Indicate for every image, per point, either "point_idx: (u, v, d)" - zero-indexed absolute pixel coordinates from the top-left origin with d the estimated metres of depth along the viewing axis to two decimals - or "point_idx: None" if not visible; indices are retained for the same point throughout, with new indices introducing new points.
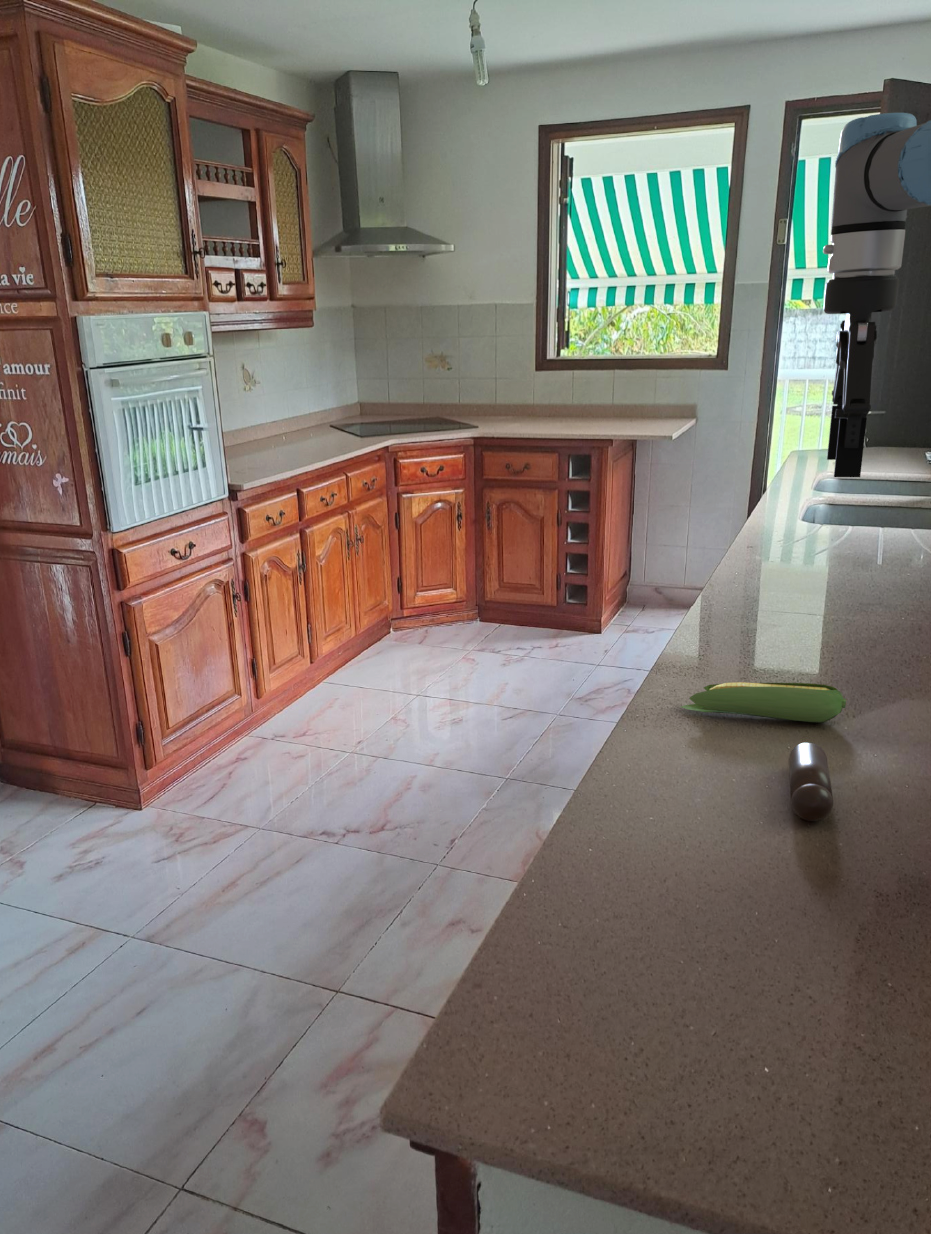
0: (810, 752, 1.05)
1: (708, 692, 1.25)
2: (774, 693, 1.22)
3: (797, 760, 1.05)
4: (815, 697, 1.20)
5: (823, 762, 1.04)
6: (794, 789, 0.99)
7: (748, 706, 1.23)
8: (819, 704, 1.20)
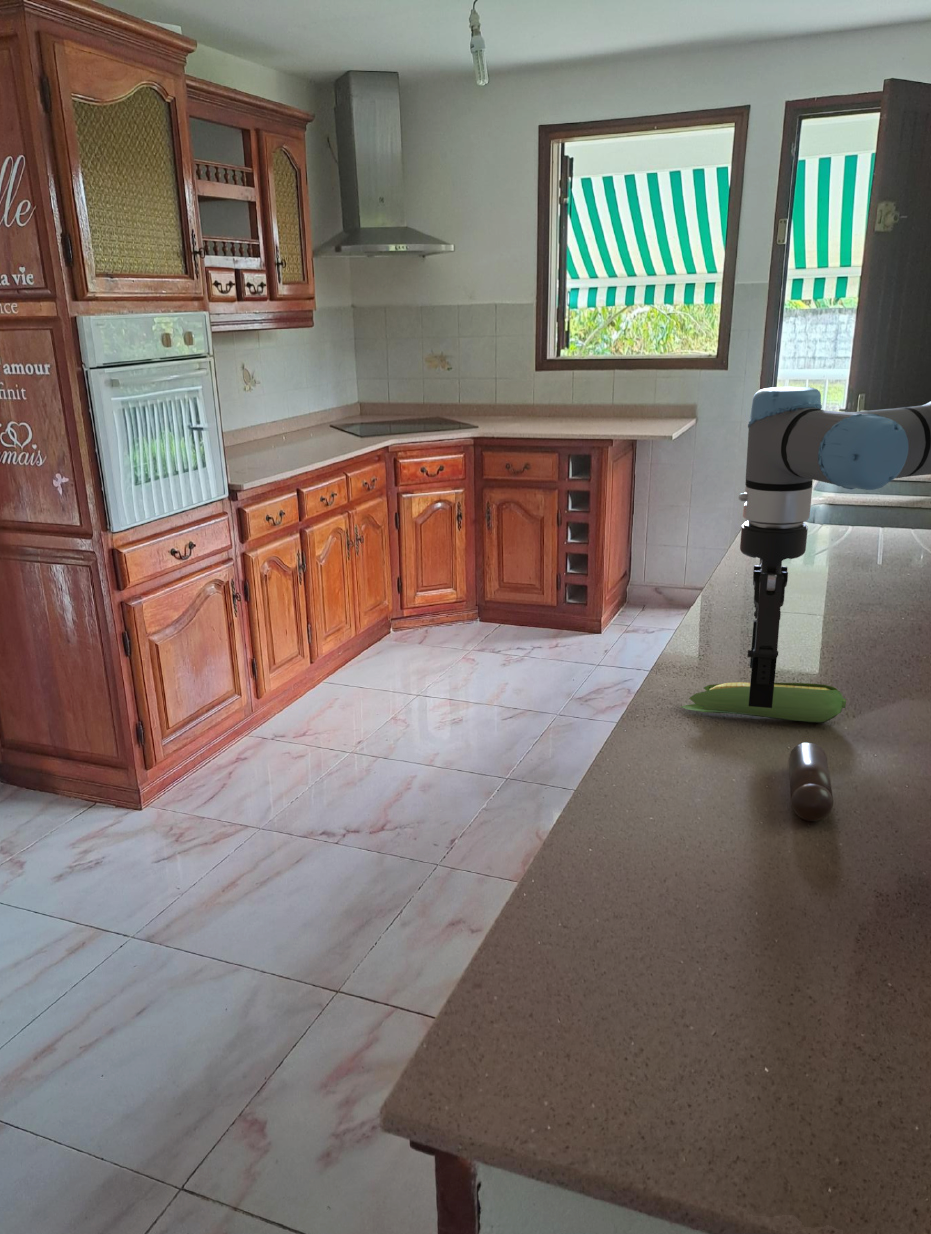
0: (810, 752, 1.05)
1: (708, 692, 1.25)
2: (774, 693, 1.22)
3: (797, 760, 1.05)
4: (815, 697, 1.20)
5: (823, 762, 1.04)
6: (794, 789, 0.99)
7: (748, 706, 1.23)
8: (819, 704, 1.20)
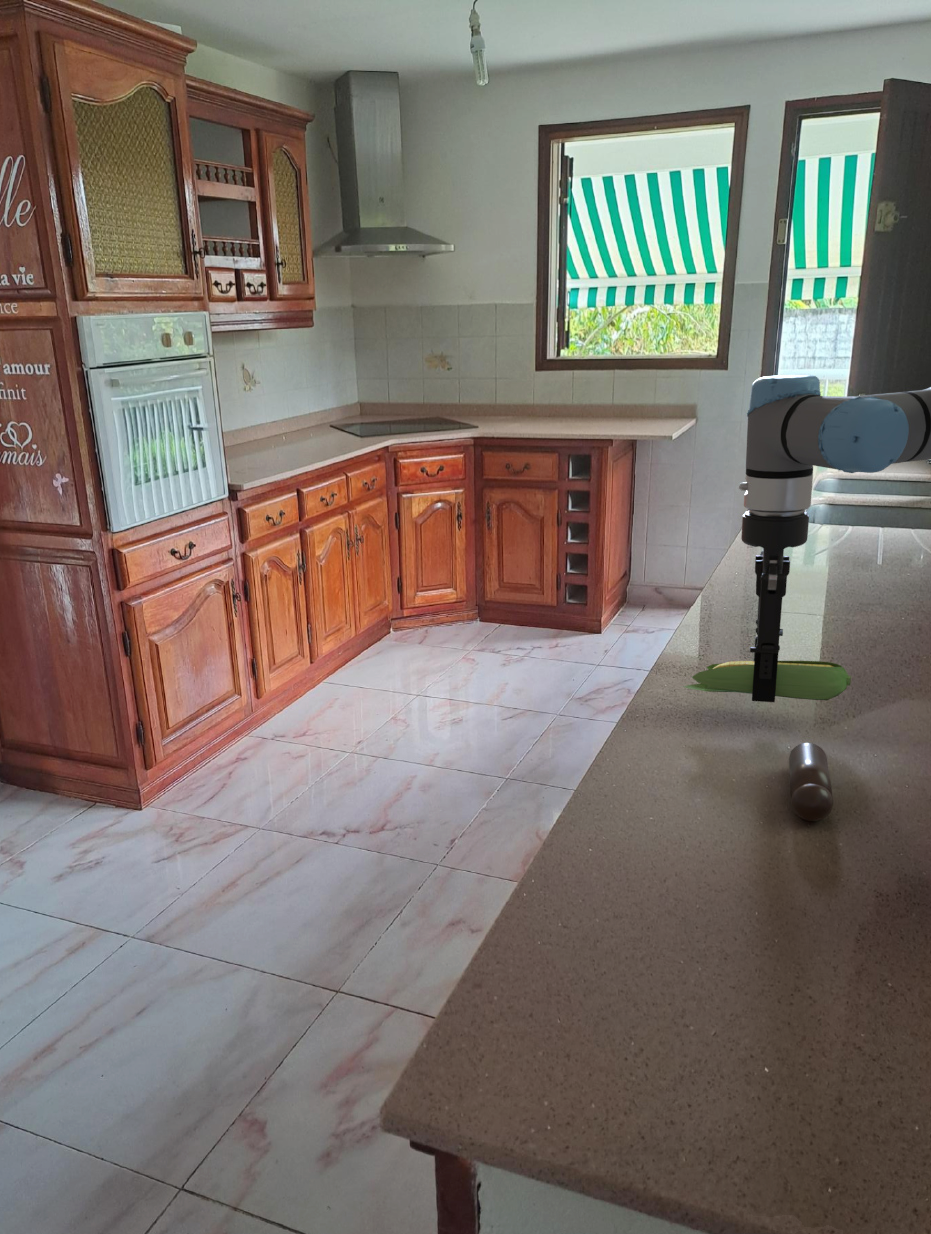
0: (810, 752, 1.05)
1: (711, 671, 1.23)
2: (778, 671, 1.21)
3: (797, 760, 1.05)
4: (819, 674, 1.19)
5: (823, 762, 1.04)
6: (794, 789, 0.99)
7: (752, 684, 1.21)
8: (823, 681, 1.18)
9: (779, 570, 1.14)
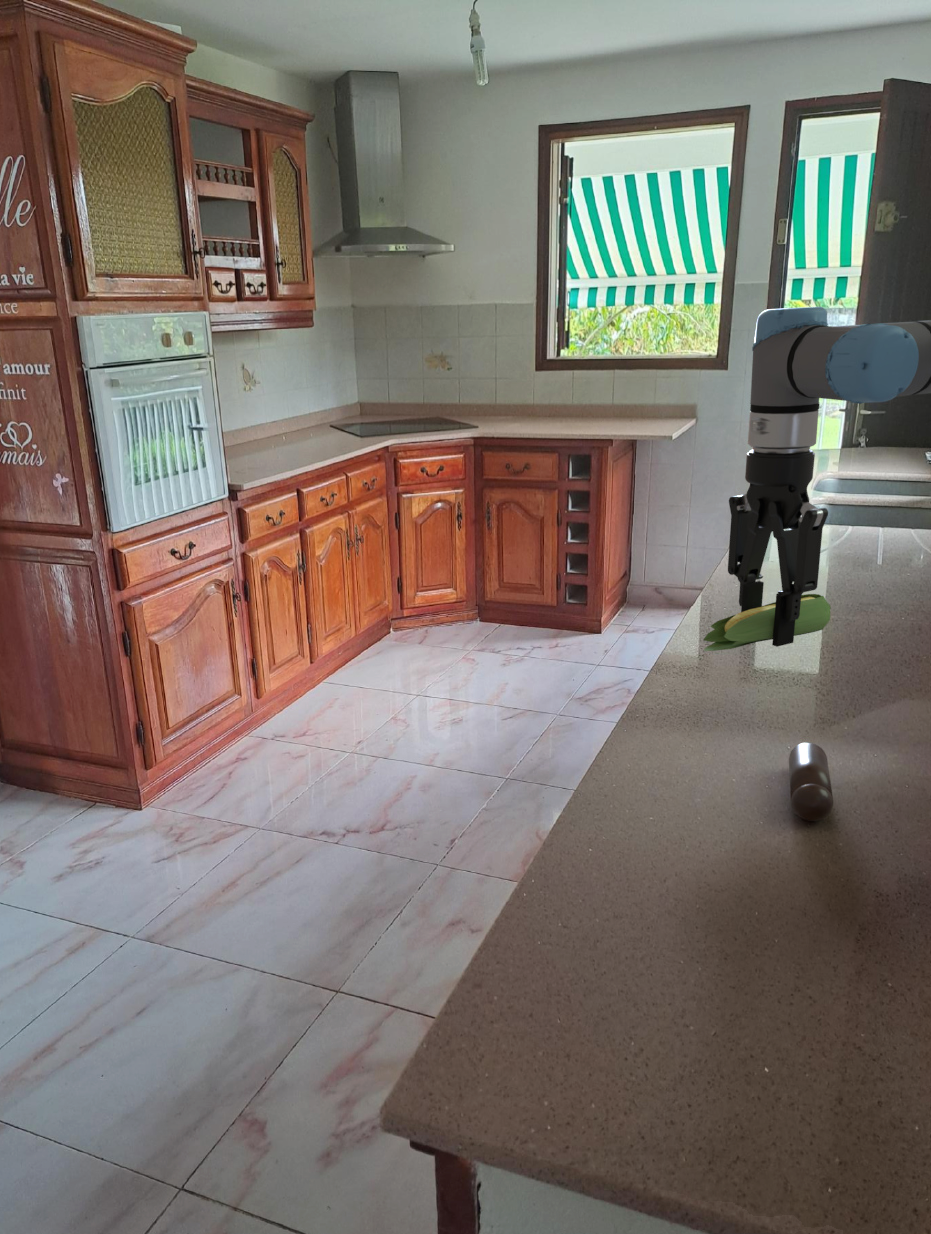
0: (810, 752, 1.05)
1: (736, 626, 1.16)
2: None
3: (797, 760, 1.05)
4: (817, 606, 1.21)
5: (823, 762, 1.04)
6: (794, 789, 0.99)
7: (771, 630, 1.18)
8: (822, 611, 1.21)
9: None
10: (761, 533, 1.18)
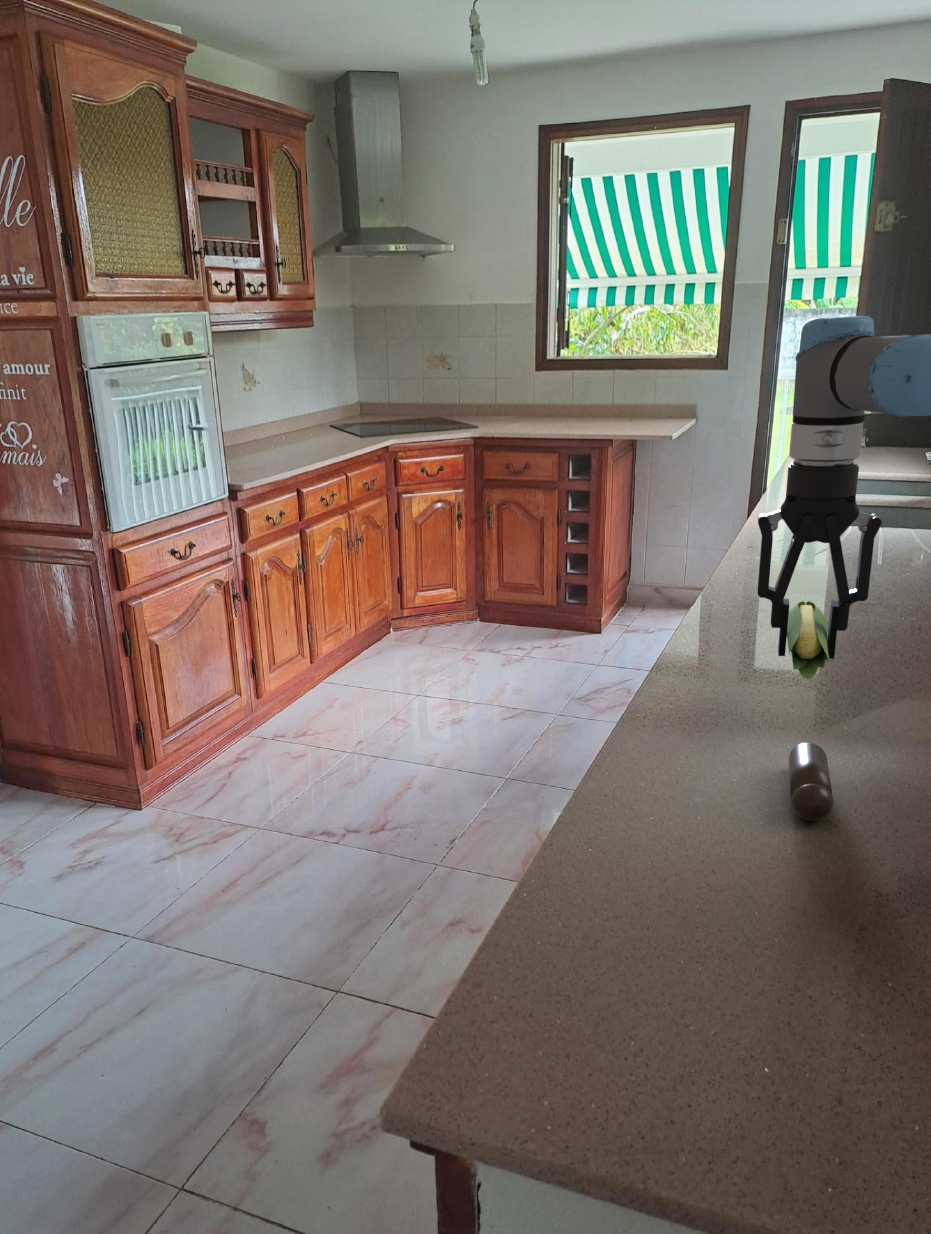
0: (810, 752, 1.05)
1: (823, 646, 1.11)
2: (820, 622, 1.18)
3: (797, 760, 1.05)
4: (821, 612, 1.22)
5: (823, 762, 1.04)
6: (794, 789, 0.99)
7: None
8: (824, 616, 1.23)
9: None
10: None
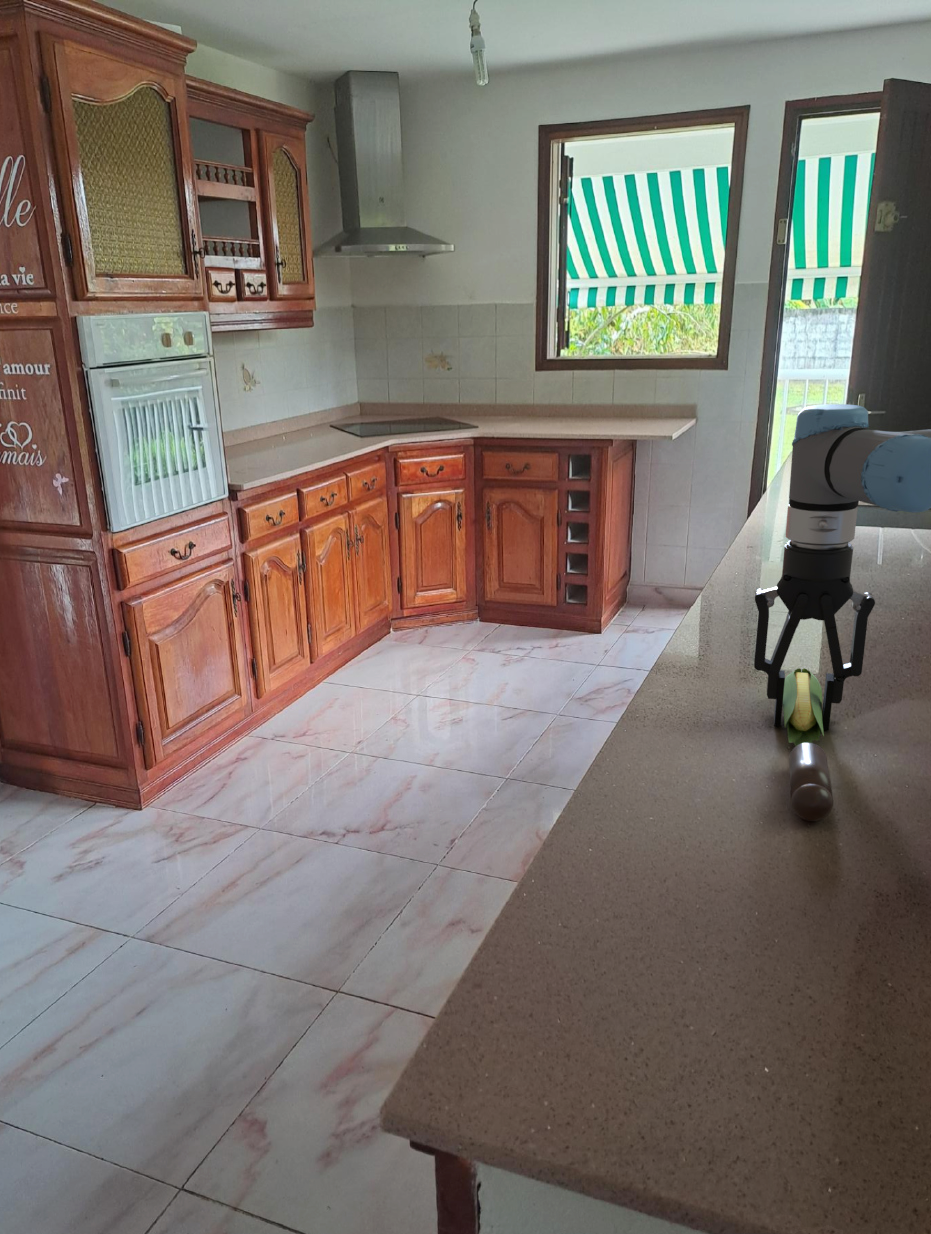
0: (810, 752, 1.05)
1: (818, 720, 1.15)
2: (816, 692, 1.22)
3: (797, 760, 1.05)
4: (817, 680, 1.26)
5: (823, 762, 1.04)
6: (794, 789, 0.99)
7: None
8: (819, 684, 1.26)
9: None
10: None
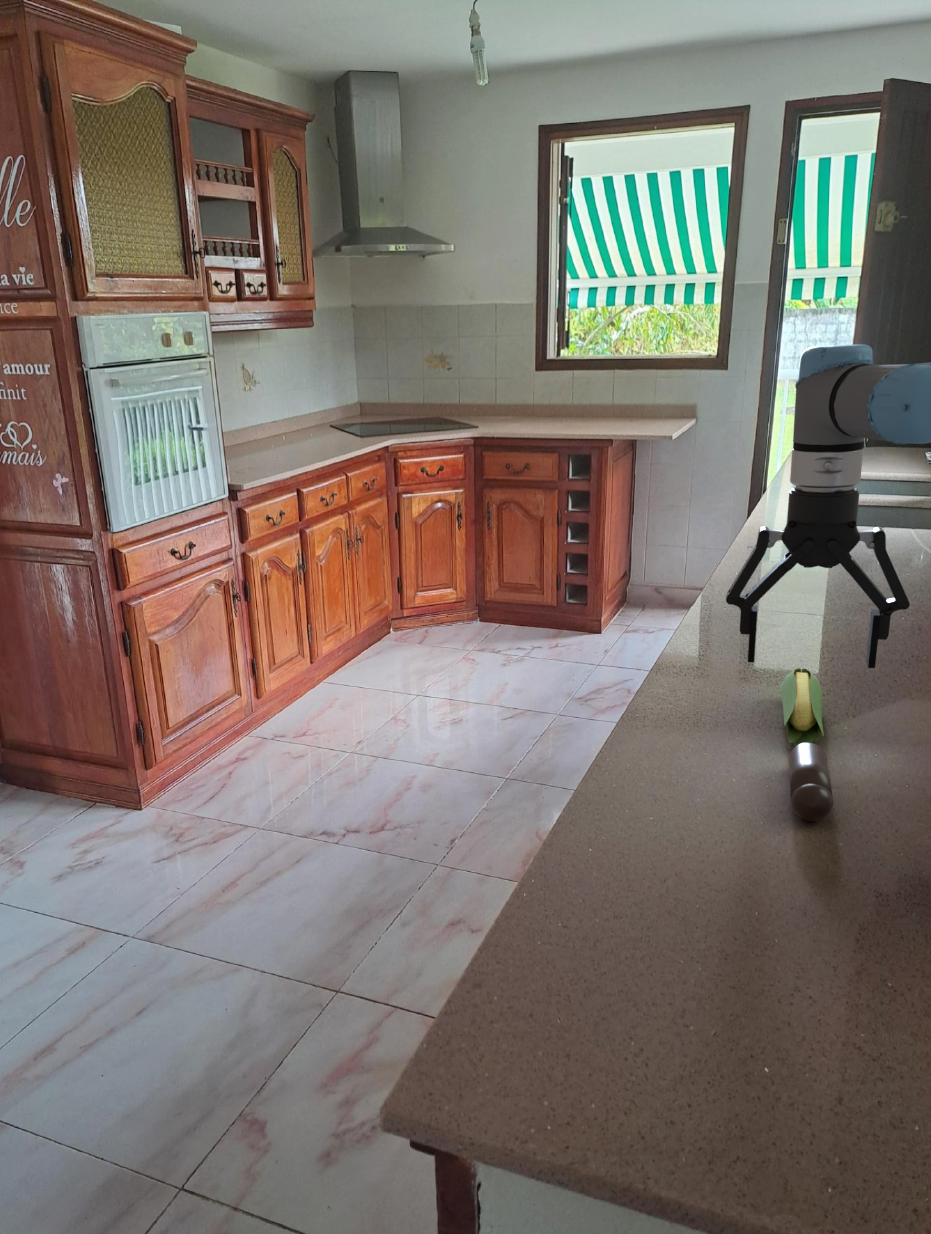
0: (810, 752, 1.05)
1: (817, 720, 1.15)
2: (815, 692, 1.22)
3: (797, 760, 1.05)
4: (816, 680, 1.26)
5: (823, 762, 1.04)
6: (794, 789, 0.99)
7: None
8: None
9: None
10: None
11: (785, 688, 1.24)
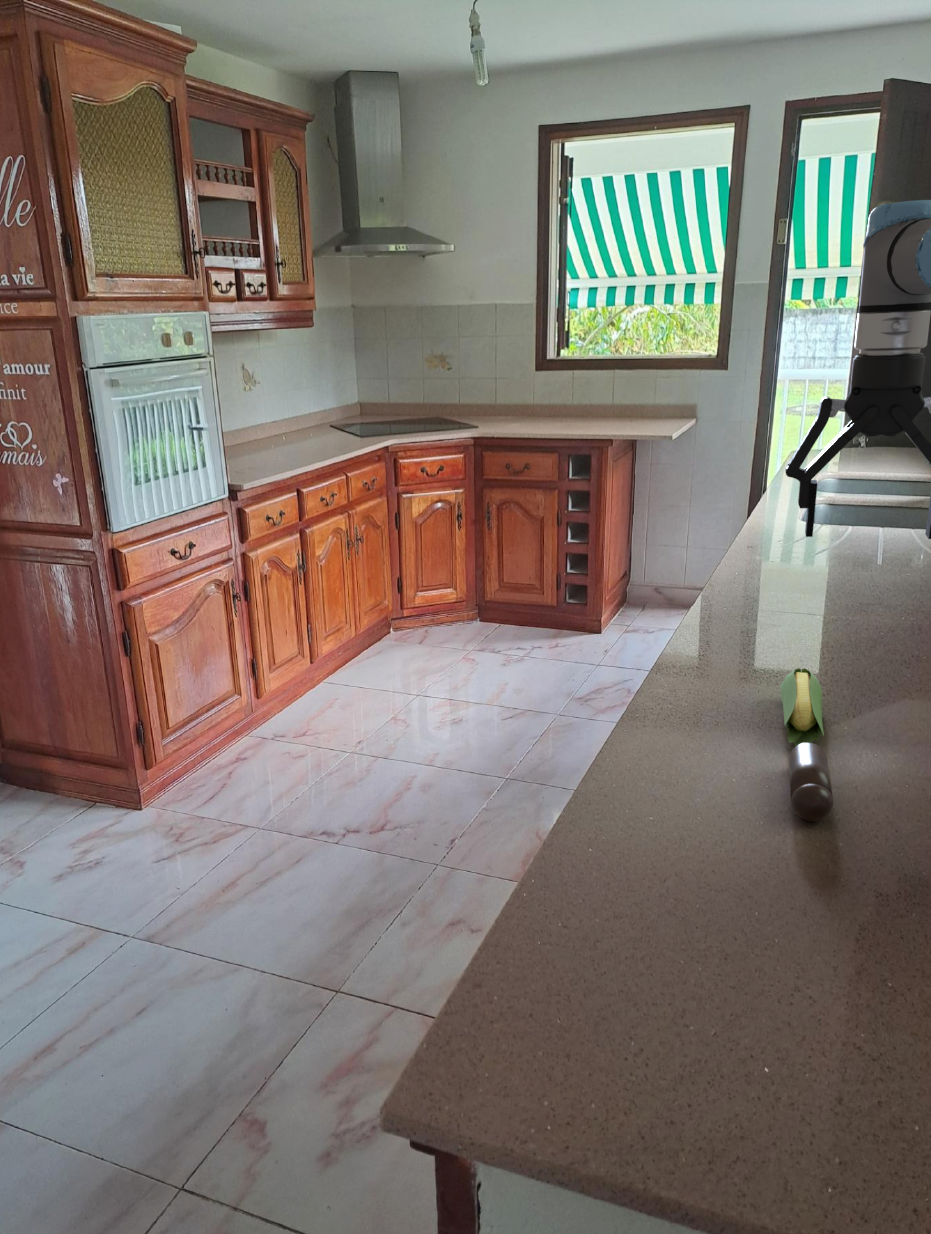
0: (810, 752, 1.05)
1: (818, 720, 1.15)
2: (815, 692, 1.22)
3: (797, 760, 1.05)
4: (817, 680, 1.26)
5: (823, 762, 1.04)
6: (794, 789, 0.99)
7: None
8: None
9: None
10: None
11: (785, 688, 1.24)
